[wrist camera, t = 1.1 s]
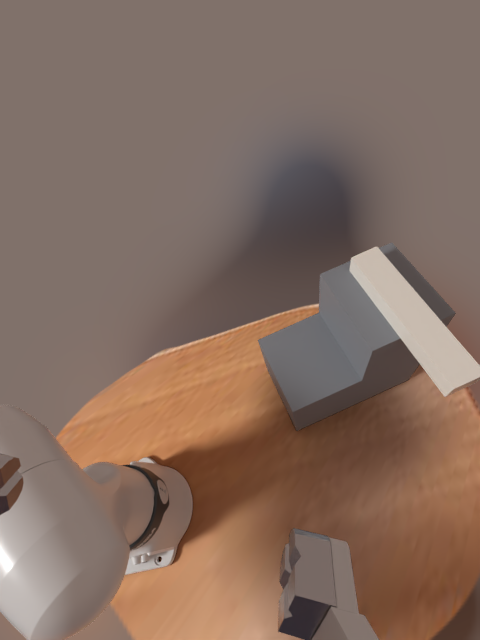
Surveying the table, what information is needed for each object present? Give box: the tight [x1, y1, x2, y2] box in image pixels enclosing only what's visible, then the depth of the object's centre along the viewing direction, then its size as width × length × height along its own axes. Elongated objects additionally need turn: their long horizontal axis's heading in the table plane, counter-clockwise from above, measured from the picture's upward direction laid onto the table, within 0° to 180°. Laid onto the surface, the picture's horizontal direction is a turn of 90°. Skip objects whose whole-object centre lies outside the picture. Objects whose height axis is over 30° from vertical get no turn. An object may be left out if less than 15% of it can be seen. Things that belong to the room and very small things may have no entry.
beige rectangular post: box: [349, 247, 480, 397], centre depth 44 cm, size 4×21×3 cm, turn 22°
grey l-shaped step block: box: [258, 243, 455, 431], centre depth 59 cm, size 24×14×26 cm, turn 112°
